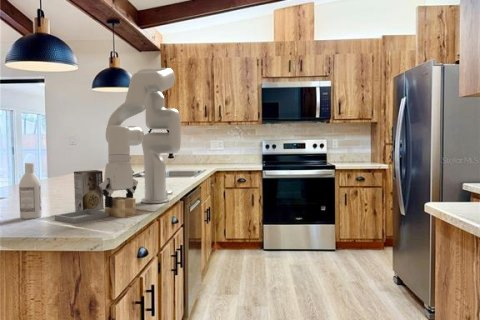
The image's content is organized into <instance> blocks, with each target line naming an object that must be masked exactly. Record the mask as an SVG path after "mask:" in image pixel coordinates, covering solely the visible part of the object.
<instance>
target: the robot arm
mask: <svg viewBox="0 0 480 320" xmlns="http://www.w3.org/2000/svg"><path fill="white" fill-rule="evenodd" d="M175 81H176V75H175V72H174V70H173V69H172V68H169V67H157V68H156V67H154V68H153V67H152V68H141V69H139V70H138V71H136V72H134V73H133V74H132V75H131V77H130V81H129V85H128V89H127V93H126V97H125V101H124V102H123V103H122V104H121V105H119V106H118V107H117V108H116V109H115V110H114V111H113V112H112V113H111V115H110V116H109V119H108V121H107V124H106V125H107V126H106V129H105V140H106V142H107V145H108V148H107V152H108V153H107V154H108V155H107V157H108V159H107V160H108V162H107V163H106V165H105V169H104V178H103V179H104V180H103V182H102V183H101V184H99V188H100V190H101V192H102V193H103V197H104V208H105V207H109V208H112V207H113V196H112V195H113V193H114V192H116V191H125V192H126V193H125V197H127V198H134V194H135V192H136V190H137V186H138V184H139V181H138V180H136V179H134V176H133V168H132V164H131V161H130V160H131V159H132V156H131V152H130V151H131V149H130V146H132V147H134V146H139V145H141V147H142V151H143V164H144V165H143V166H144V168H143V169H144V170H143V171H144V174H143V175H144V198H143V197H142V198H141V199H140V200H141V202H142V203H144V204H163V203H168V202H170V197H168V196H172V195H173V191H172V190H169V191H168V190H166V189H167V187H166V186H167V179H166V176H167V175H166V172H167V171H166V160H165V159H164V157H163V156H162V154H176V153H179V151H180V150H181V144H182V142H181V141H182V139H181V138H182V135H181V134H182V133H181V132H182V129H181V128H182V121H181V120H182V118H181V114H180V112H179V110H178V109H176V108H166V107H165V105H166V103H165V96H164V95H163V93H162V92H165V91H167V90H169V89H171V88H172V87H173V86H174V85H175ZM144 111H145V125H146V127H147V129H150V130H157V131H158V130H163V131H164V130H166V131H167V130H168V131H169V132H157V131H156V132H154V131H153V132H148V133H144V131H143V129H142V128H141V127H140V126H135V125H129V126H127V125H122V124H123V123H124V122H125V121H126V120H128V119H129V118H131V117H134V116H137V115H138V114H141V113H143V112H144Z"/></svg>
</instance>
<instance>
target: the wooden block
mask: <svg viewBox="0 0 480 320" xmlns="http://www.w3.org/2000/svg"><path fill="white" fill-rule="evenodd" d="M112 197H113V196H112ZM119 199H123V200H119ZM136 205H137V204H136V198H135V197H133V198H127V197H126V196H114V197H113V207H112V208H109V207H105V206H104V212H109V217H114V216H116V217H115V218H120V217H126V216H131V215H135V214H136V209H137V207H136Z"/></svg>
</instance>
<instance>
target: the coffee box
mask: <svg viewBox="0 0 480 320" xmlns="http://www.w3.org/2000/svg"><path fill="white" fill-rule="evenodd" d="M103 179H104V178H103V170H98V169H94V170H93V169H91V170H88V169H87V170H79V171H77V170H75V171H73V183H74V187H73V188H74V189H73V190H74V212H76V211H81V210H87V209H90V210H97V211H101V210H105V202H104V195H103V193H102V192H101V190H100V188H99V184H101V183H102V182H104V180H103Z"/></svg>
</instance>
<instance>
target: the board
mask: <svg viewBox="0 0 480 320" xmlns="http://www.w3.org/2000/svg"><path fill="white" fill-rule="evenodd" d="M155 212H157V211H155V210H147V209H142V208H141V209H139V208H136V214H135V215H131V216H126V217H119V218H121V219H130V218H135V217H139V216H143V215H147V214H151V213H152V214H153V213H155ZM113 217H114V218H117V217H116V216H113Z"/></svg>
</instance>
